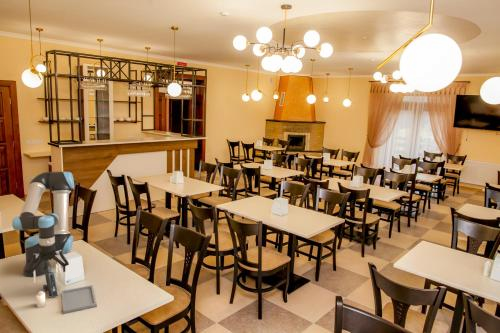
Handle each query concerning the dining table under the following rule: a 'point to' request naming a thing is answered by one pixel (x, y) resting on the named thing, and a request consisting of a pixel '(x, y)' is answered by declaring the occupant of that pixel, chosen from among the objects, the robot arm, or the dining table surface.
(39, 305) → the shaker
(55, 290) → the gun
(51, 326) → the dining table surface
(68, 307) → the tray
